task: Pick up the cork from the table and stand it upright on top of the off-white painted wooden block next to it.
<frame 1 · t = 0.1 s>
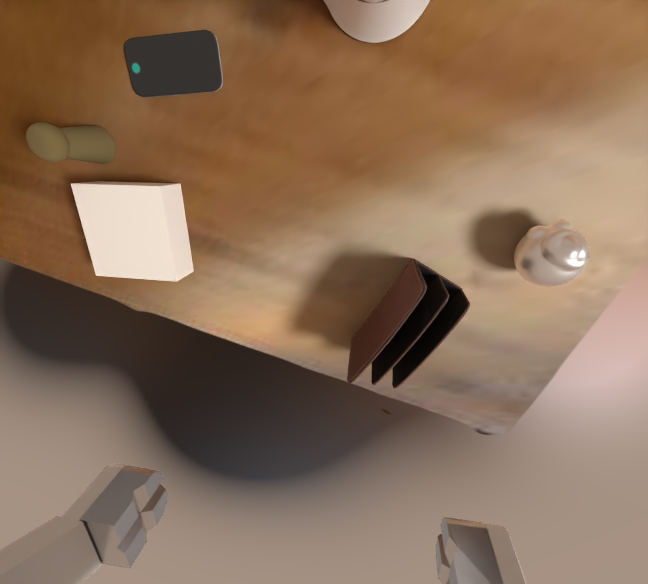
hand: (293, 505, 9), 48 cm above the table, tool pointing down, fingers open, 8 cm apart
white block: (148, 227, 60), on the table
smartphone: (176, 66, 49), on the table
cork: (100, 144, 55), on the table
letter holder: (402, 314, 59), on the table
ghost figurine: (536, 245, 51), on the table
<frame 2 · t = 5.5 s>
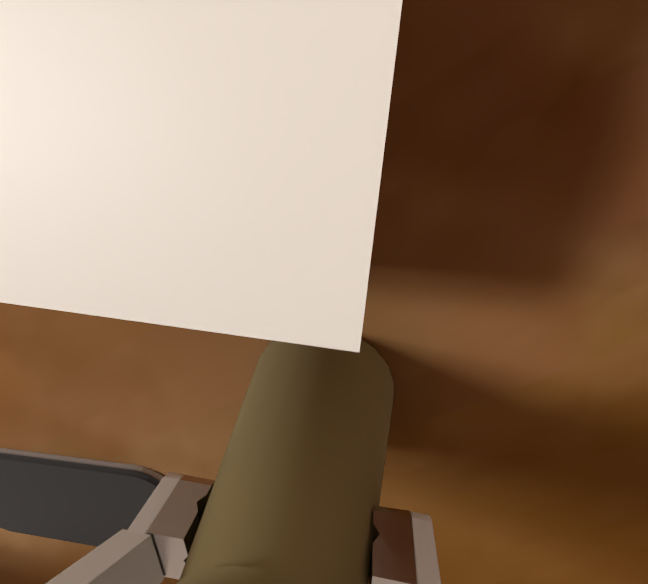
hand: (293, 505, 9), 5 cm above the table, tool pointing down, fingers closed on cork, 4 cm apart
smartphone: (79, 490, 21), on the table
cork: (323, 384, 14), on the table, touching gripper
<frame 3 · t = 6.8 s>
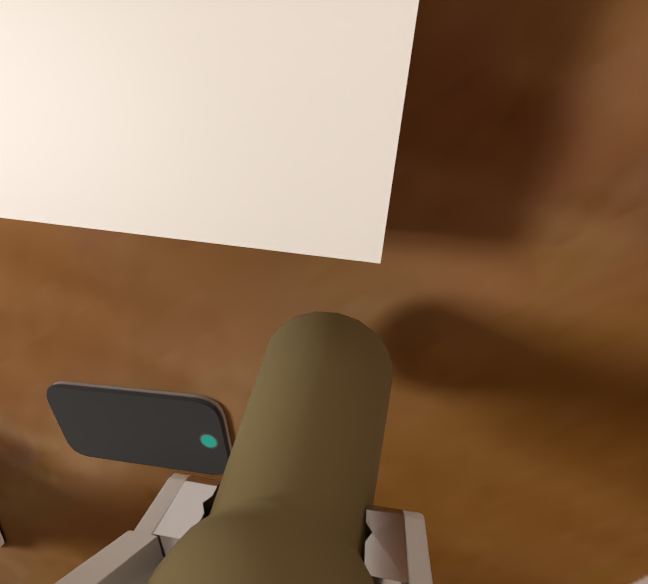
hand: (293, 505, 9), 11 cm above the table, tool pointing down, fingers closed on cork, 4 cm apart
white block: (227, 30, 14), on the table
smartphone: (146, 421, 26), on the table
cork: (327, 367, 15), point 4 cm above the table, touching gripper
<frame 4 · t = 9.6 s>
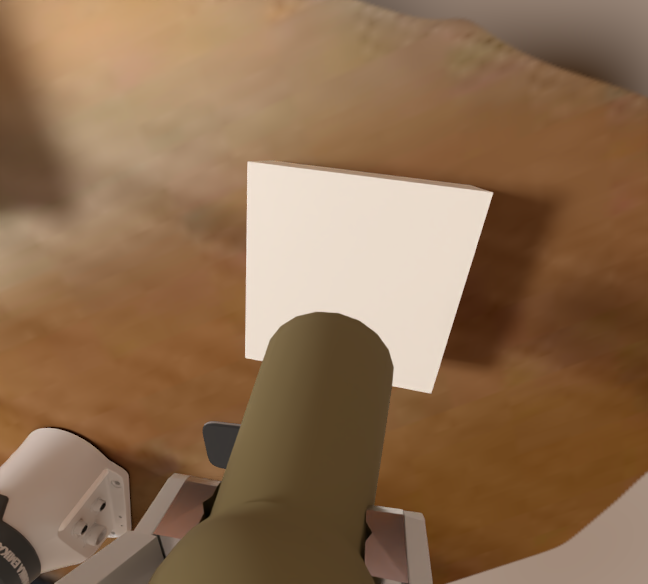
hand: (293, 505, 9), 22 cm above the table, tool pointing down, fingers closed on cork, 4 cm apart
white block: (354, 264, 30), on the table
smartphone: (263, 446, 41), on the table
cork: (328, 367, 15), point 15 cm above the table, touching gripper
when the fingers open (13 cm above the table, at t = 13.0 s): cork drops 1 cm, resting on white block.
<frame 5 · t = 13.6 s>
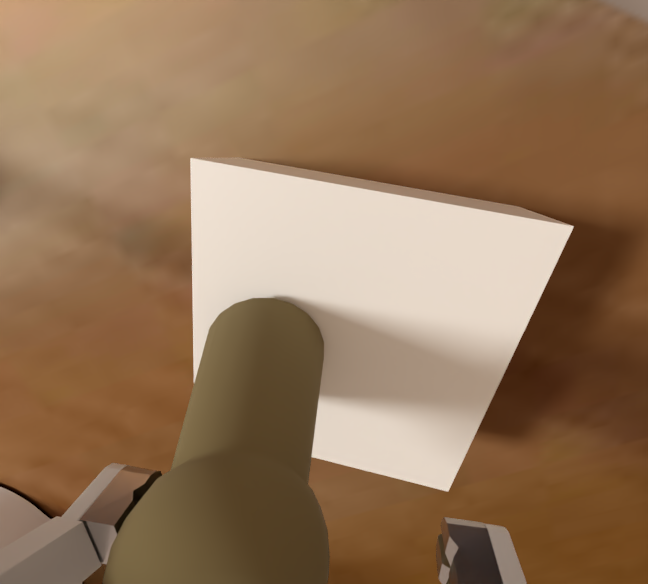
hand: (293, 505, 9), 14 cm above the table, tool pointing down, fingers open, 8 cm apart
white block: (349, 302, 22), on the table, touching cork
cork: (266, 349, 17), point 6 cm above the table, touching gripper, white block
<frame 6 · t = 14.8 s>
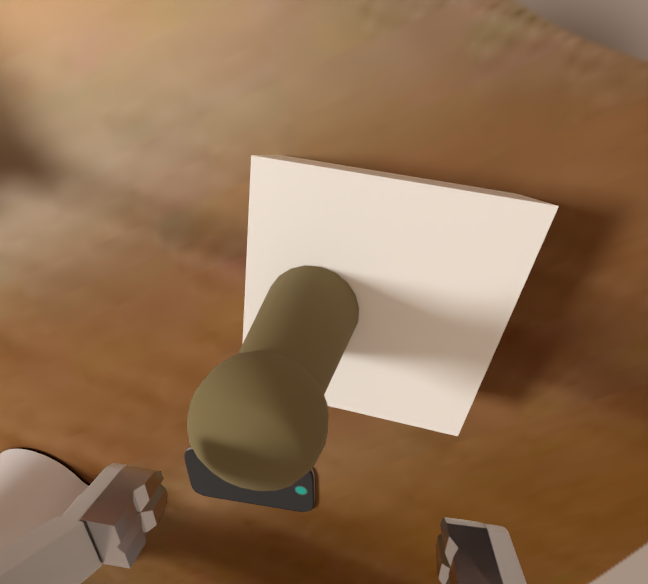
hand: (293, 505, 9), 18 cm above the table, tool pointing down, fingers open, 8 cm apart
white block: (370, 279, 25), on the table
smartphone: (251, 473, 37), on the table
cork: (312, 308, 21), point 5 cm above the table
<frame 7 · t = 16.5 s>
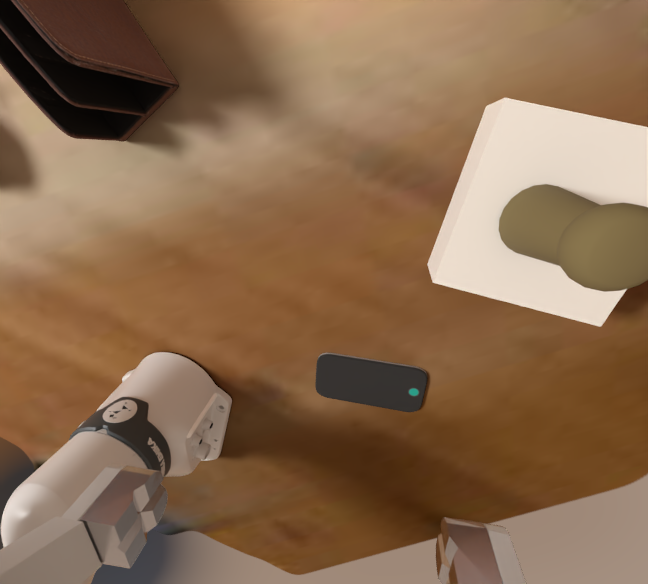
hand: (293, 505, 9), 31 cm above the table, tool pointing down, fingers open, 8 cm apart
white block: (530, 211, 33), on the table
smartphone: (369, 379, 45), on the table
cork: (535, 220, 28), point 6 cm above the table
letter holder: (91, 26, 34), on the table
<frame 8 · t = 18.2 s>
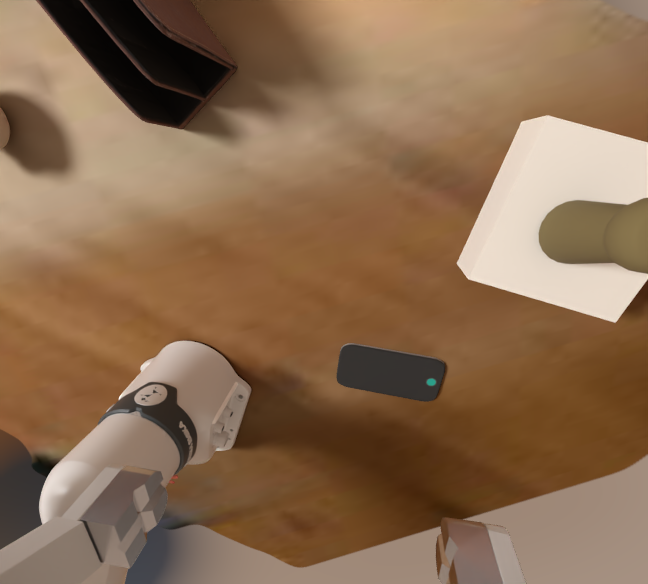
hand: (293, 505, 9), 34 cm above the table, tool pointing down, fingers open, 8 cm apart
white block: (553, 218, 37), on the table
smartphone: (388, 369, 48), on the table
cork: (571, 232, 31), point 6 cm above the table
letter holder: (150, 20, 35), on the table
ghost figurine: (0, 125, 42), on the table
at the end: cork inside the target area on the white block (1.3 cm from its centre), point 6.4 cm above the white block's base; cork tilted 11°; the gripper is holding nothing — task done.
